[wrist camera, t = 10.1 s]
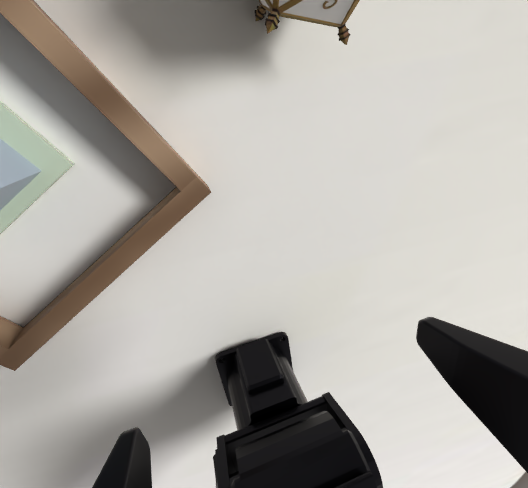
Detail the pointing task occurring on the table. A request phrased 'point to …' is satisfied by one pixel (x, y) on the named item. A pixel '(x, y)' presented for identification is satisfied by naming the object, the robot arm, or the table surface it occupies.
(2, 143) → the slate-blue block
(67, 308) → the frame
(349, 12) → the game die
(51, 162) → the pad
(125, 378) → the table surface
